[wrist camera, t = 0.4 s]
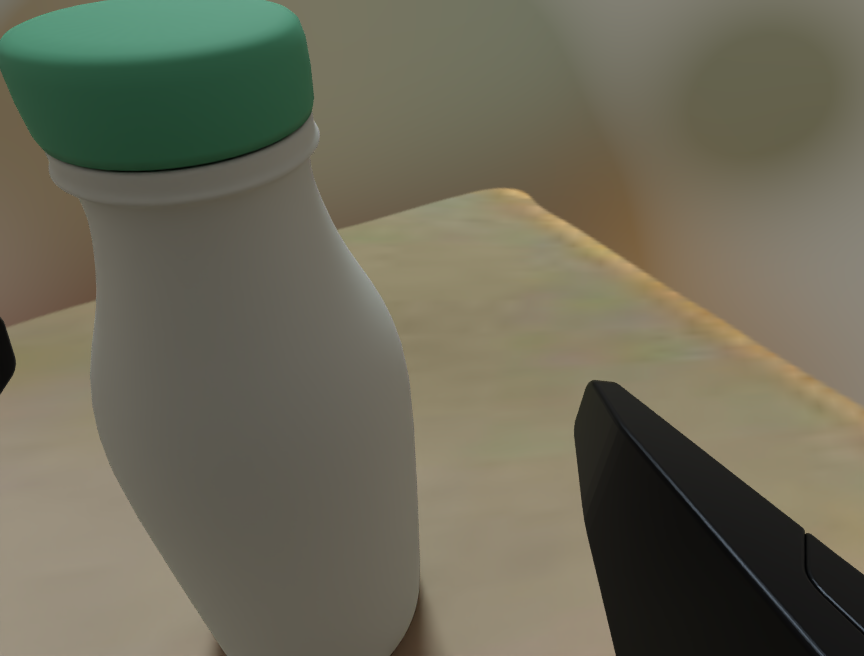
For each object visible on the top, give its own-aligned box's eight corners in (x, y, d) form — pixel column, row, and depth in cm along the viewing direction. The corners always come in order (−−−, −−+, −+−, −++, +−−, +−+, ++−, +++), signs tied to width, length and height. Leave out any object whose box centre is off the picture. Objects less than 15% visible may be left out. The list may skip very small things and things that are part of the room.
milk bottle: (456, 557, 23) (485, -4, 10) (337, 756, 18) (71, 156, 5) (311, 473, 26) (184, -39, 13) (175, 624, 21) (-261, 36, 8)
